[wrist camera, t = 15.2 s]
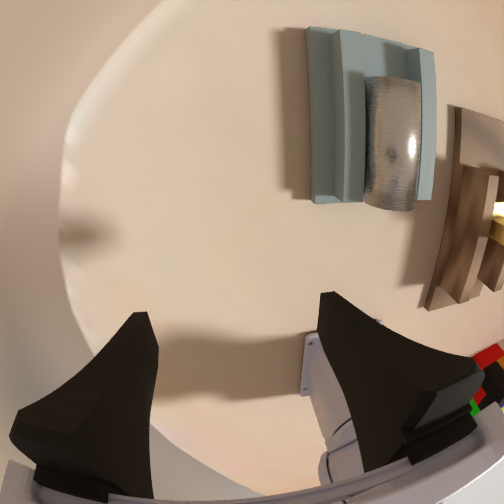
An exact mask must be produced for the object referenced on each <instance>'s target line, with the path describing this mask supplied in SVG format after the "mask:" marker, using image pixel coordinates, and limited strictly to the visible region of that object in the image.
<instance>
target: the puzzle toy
mask: <svg viewBox="0 0 504 504" xmlns="http://www.w3.org/2000/svg"><path fill="white" fill-rule="evenodd" d="M473 359H474V360H475V361H476V363H477V364H478V365H479V366H480V368H481V369H482V370H483V372H484V374H485V377H484V380H483V383H482V385H481V386H480V388H479V389H478V391H477V392H476V394H475V395H474V396H473V398H472V399H471V401H470V402H469V403H470V405H471V406H472V411H471V412H470V414H471V415H472V417H474V416H475V415H476V414H477V413H479V412H480V411H481V410H483V409H484V408H486V407H487V406H489V405H490V404H492V403H493V402H496V403H497V404H498V405H499V407H500V408H501V410H502V411H503V410H504V339H503V340H501V341H499V342H497V343H496V344H494V345H492V346H490V347H488V348H487V349H485V350H483V351H481V352H479V353H477V354H475V355H474V357H473Z"/></svg>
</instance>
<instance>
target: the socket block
mask: <svg viewBox="0 0 504 504" xmlns="http://www.w3.org/2000/svg"><path fill="white" fill-rule="evenodd" d="M496 196H498V197H500V198H503V199H504V122H501V121H499V120H496V119H493V118H491V117H488V116H485V115H482V114H479V113H476V112H473V111H470V110H466V109H463V108H456V107H455V147H454V161H453V172H452V182H451V190H450V197H449V204H448V211H447V217H446V222H445V228H444V233H443V238H442V243H441V247H440V252H439V256H438V260H437V264H436V268H435V272H434V276H433V280H432V283H431V287H430V290H429V294H428V297H427V300H426V303H425V307H424V308H425V309H426V310H427V311H428V312H429V311H432V310H436V309H439V308H443V307H446V306H449V305H453V304H456V303H458V304H461V303H464V302H467V301H469V299H471V298H474V297H477V296H479V295H480V292H481V289H482V286H483V283H484V284H485V285H486V286H487V287H488V288H489V289H491V290H492V291H493V292H495V291H498V290H501V288H502V285H503V283H504V246H503V245H501V244H500V243H498V242H497V241H495V240H494V239H492V238H491V237H489V231H490V227H491V222H492V217H493V212H494V207H495V201H496Z"/></svg>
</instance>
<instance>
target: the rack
mask: <svg viewBox="0 0 504 504" xmlns="http://www.w3.org/2000/svg"><path fill="white" fill-rule="evenodd" d="M305 36H306V49H307V63H308V80H309V102H310V135H311V201H312V202H313V203H315V204H327V203H352V202H364V200H363V195H364V178H365V151H366V103H365V78H366V77H373V76H386V77H397V78H403V79H408V80H413V81H416V82H418V83H420V88H421V141H420V160H419V173H418V184H417V194H416V200H431V196H432V188H433V178H434V167H435V154H436V132H437V96H436V75H435V62H434V52H431V51H428V50H425V49H422V48H416V47H413V46H409V45H406V44H402V43H399V42H395V41H391V40H387V39H383V38H379V37H374V36H370V35H365V34H361V33H359V32H354V31H348V30H342V29H339V30H336V29H329V28H321V27H312V26H309V27H308V28H307V29H306V30H305Z"/></svg>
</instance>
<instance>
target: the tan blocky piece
mask: <svg viewBox="0 0 504 504" xmlns="http://www.w3.org/2000/svg"><path fill="white" fill-rule="evenodd" d="M489 237H491V238H492V239H494V240H495V241H497V242H498V243H500V244H501V245H503V246H504V199H503V198H500V197H498V196H496V201H495V207H494V212H493V217H492V222H491V227H490V231H489Z"/></svg>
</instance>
